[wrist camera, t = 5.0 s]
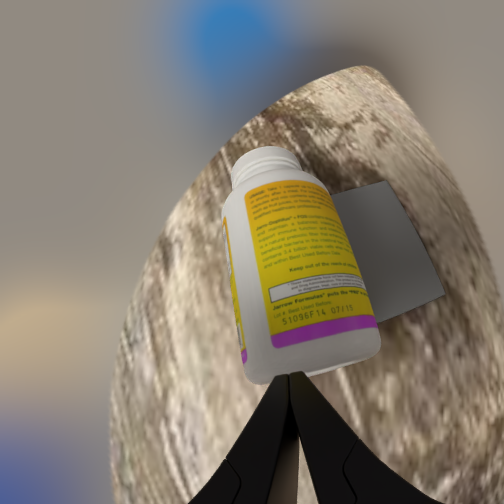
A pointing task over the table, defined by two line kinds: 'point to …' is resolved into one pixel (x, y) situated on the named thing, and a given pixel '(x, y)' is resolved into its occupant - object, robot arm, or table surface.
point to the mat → (387, 250)
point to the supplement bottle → (292, 272)
